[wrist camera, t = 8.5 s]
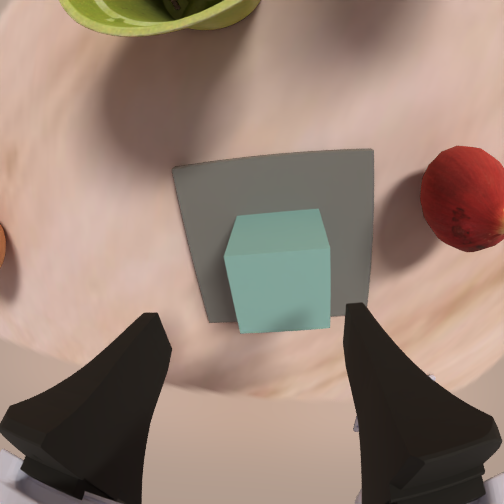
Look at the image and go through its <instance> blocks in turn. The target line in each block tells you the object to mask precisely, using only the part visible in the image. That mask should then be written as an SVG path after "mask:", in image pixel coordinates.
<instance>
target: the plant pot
mask: <svg viewBox="0 0 504 504" xmlns="http://www.w3.org/2000/svg"><path fill="white" fill-rule="evenodd" d="M59 1H60V3H61V5H62V7H63V8H64V10H65V11H66V12H67V14H68V15H69V16H70V17H71V18H72V19H73V20H75V21H76V22H77V23H78V24H80V25H82V26H84V27H86V28H88V29H91V30H93V31H96V32H99V33H103V34H107V35H112V36H120V37H143V36H152V35H159V34H165V33H169V32H174V31H178V30H182V29H185V28H190V29H196V30H214V29H220V28H224V27H227V26H230V25H233V24H235V23H237V22H239V21H240V20H242V19H244V18H245V17H246V16H248V15H249V14H250V13H251V12H252V11H253V10H254V9H255V8H256V7H257V5H258V4H259V2H260V0H177V2H178V4H179V6H180V7H181V8H180V9H179V10H178V9H177V10H176V9H175V8H174V5H173V3H172V2H171V1H170V0H59Z"/></svg>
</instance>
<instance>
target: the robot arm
mask: <svg viewBox="0 0 504 504" xmlns="http://www.w3.org/2000/svg"><path fill="white" fill-rule="evenodd" d="M343 347H344V355H345V363H346V369H347V374H348V378H349V382H350V387H351V391H352V395H353V400H354V404H355V409H356V413H357V416H356V420H355V424H354V428H353V429H354V431H355V432H358V431H359V437H360V450H361V473H362V489H361V490H360V492H359V494H358V495H357V497H356V500H355V504H504V472H502V473H500V474H498V475H496V476H494V477H492V478H490V479H488V480H486V481H484V482H483V479H482V476H481V475H483V474H484V473H485V469H484V466H483V463H484V462H485V461H487V460H488V459H489V458H490V457H491V456H492V455H493V454H494V453H495V452H496V451H497V450H498V449H499V447H500V445H501V443H502V439H501V436H500V433H499V430H498V427H497V425H496V423H495V421H494V419H493V417H492V416H490V415H488V414H486V413H484V412H482V411H480V410H478V409H476V408H474V407H472V406H470V405H469V404H467V403H465V402H464V401H462V400H461V399H459V398H457V397H456V396H454V395H453V394H451V393H450V392H449V391H447V390H446V389H444V388H443V387H442V386H440V385H439V384H438V383H436V382H435V379H436V378H435V376H434V375H429V376H428V375H426V374H425V373H424V372H423V371H422V370H421V369H420V368H419V367H418V366H416V365H415V364H414V363H413V362H412V361H411V360H410V359H409V358H408V357H407V356H406V355H405V353H404V352H403V351H402V350H401V349H400V348H399V347H398V346H397V345H396V344H395V343H394V341H393V340H392V339H391V338H390V337H389V335H388V334H387V333H386V332H385V331H384V329H383V328H382V327H381V326H380V324H379V323H378V322H377V321H376V319H375V318H374V317H373V315H372V314H371V313H370V311H369V310H368V308H367V307H366V306H365V304H364V303H363V302H359V303H348V304H346V311H345V325H344V337H343ZM171 351H172V347H171V345H170V343H169V340H168V338H167V335H166V333H165V330H164V328H163V325H162V323H161V320H160V318H159V315H158V313H143V314H142V315H141V316H140V317H139V318H138V319H136V320H135V321H134V322H133V323H132V324H131V325H130V326H129V327H128V328H127V329H126V330H125V331H124V332H123V333H122V334H120V335H119V336H118V337H117V338H116V339H115V340H114V341H113V342H112V343H111V344H110V345H109V346H108V347H106V348H105V349H104V350H103V351H102V352H101V353H100V354H98V355H97V356H96V357H95V358H94V359H93V360H92V361H90V362H89V363H88V364H87V365H85V366H84V367H83V368H81V369H80V370H79V371H77V372H76V373H74V374H73V375H72V376H70V377H68V378H67V379H65V380H64V381H62V382H61V383H59V384H57V385H56V386H54V387H52V388H50V389H48V390H47V391H45V392H43V393H41V394H39V395H36V396H34V397H32V398H30V399H27V400H25V401H22V402H19V403H17V404H14V405H11V406H10V407H9V409H8V410H7V412H6V414H5V416H4V417H3V420H2V421H1V423H0V433H1V434H2V435H3V436H4V437H5V438H6V439H7V440H8V441H9V442H10V443H12V444H13V445H14V446H15V447H16V448H17V449H18V450H20V451H21V452H22V453H23V454H24V455H26V457H25V459H24V460H22V459H21V458H19V457H17V456H16V455H14V454H12V453H10V452H9V451H7V450H5V449H2V450H1V452H0V503H1V504H141V502H142V498H141V497H142V475H143V464H144V456H145V449H146V443H147V438H148V432H149V427H150V422H151V419H152V415H153V412H154V409H155V406H156V403H157V401H158V397H159V395H160V392H161V389H162V386H163V383H164V380H165V377H166V374H167V371H168V367H169V362H170V357H171Z"/></svg>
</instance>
